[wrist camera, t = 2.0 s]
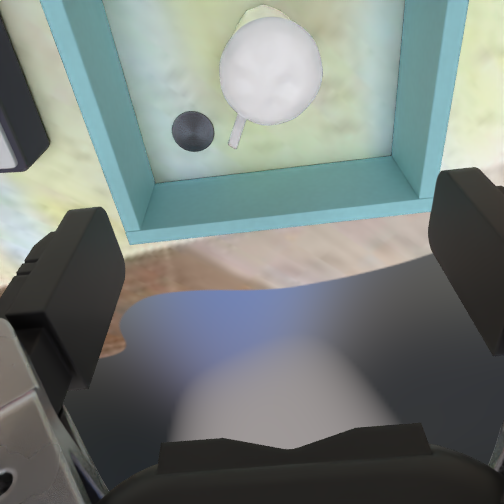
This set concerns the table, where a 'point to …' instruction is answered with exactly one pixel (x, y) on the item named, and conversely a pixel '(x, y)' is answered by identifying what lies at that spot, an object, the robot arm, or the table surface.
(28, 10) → the table surface
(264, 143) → the table surface
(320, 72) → the milkshake
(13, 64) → the red and gray box
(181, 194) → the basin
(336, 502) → the robot arm
